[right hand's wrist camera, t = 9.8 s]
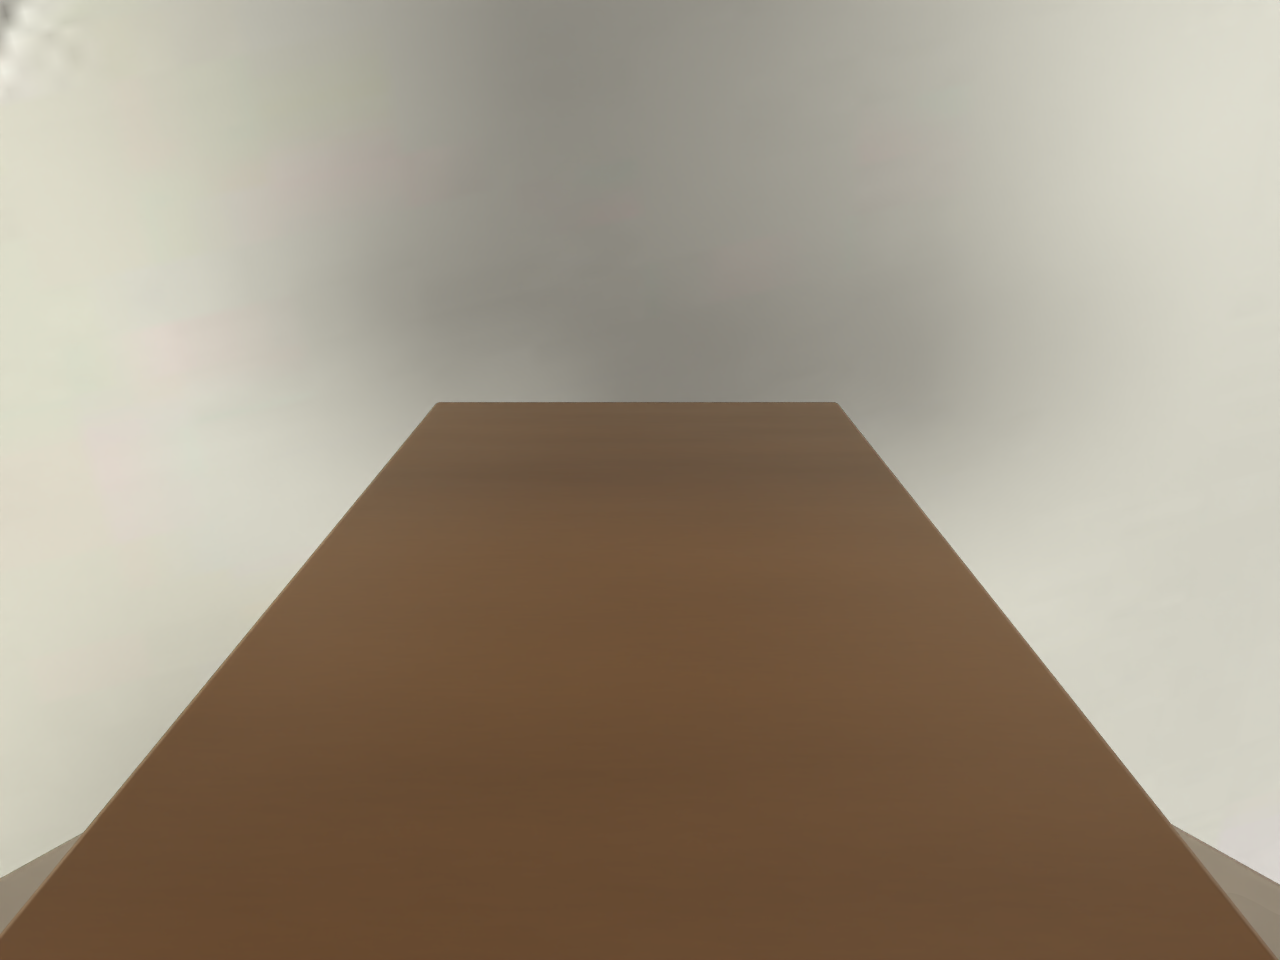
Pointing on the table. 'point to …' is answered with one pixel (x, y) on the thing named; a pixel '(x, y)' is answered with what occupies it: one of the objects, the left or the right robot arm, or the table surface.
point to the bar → (632, 730)
